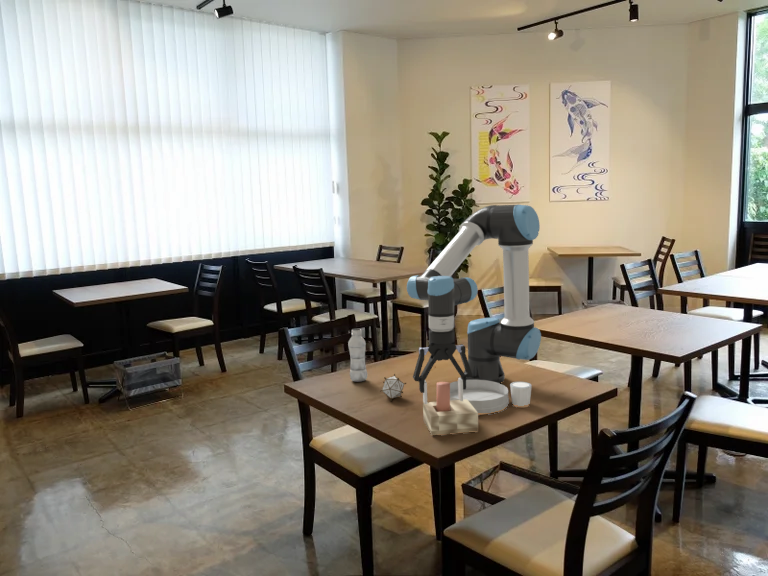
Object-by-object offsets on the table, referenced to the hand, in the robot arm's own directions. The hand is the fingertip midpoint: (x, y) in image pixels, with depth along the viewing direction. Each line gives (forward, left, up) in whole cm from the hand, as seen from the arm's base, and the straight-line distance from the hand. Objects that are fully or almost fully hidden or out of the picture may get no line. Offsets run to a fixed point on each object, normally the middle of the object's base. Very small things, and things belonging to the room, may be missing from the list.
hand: (443, 401), depth 183 cm
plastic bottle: (+21, -51, -8) cm, 56 cm away
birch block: (-2, 0, -8) cm, 8 cm away
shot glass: (-29, -13, -8) cm, 33 cm away
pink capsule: (0, 0, -7) cm, 7 cm away
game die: (+11, -29, -8) cm, 32 cm away
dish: (-15, -18, -9) cm, 25 cm away
